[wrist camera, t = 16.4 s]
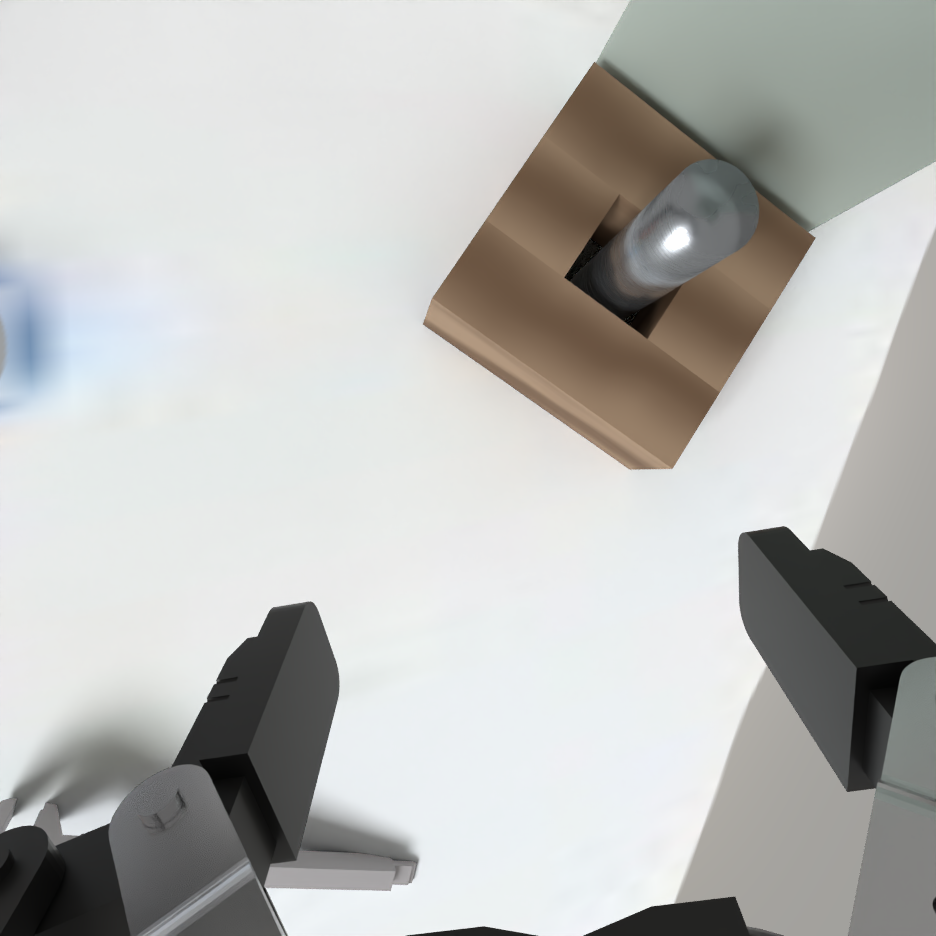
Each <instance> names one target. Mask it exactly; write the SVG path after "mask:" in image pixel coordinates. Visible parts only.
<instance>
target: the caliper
mask: <svg viewBox="0 0 936 936" xmlns="http://www.w3.org/2000/svg"><path fill="white" fill-rule="evenodd" d="M16 801H17V798H15V799H7V800H3V801H1V802H0V834H1V833H3V832H5V830H6V828H7V826H8V824H9V822H10V820H11V819H12V815H13V811H14V808H15V804H16ZM34 826H37V827H40V828H42V829H43V830H44V831H45V832H46V833H47V835H48V836H49V838H50V839H51V841H52V842H53V844H54V845H55V846H56V845H58V844H61V843H63V842H66V841H68V840H71V839H73V838H75V837H78V836H71V835H62V829H61V824H60V818H59V813H58V807H57V805H56V804H51V803H45V805H44V809H43V810H41V811H40V812H39V814H38V817H37V819H36V821H35V824H34ZM81 835H83V834H81ZM416 864H417V863H416V862H414V861H393V860H392V858H389V857H382V856H376V855H370V854H363V853H347V852H323V851H299V853H298V857H297V861H290V862H282V863H275V864H270V868H269V871H268V875H267V878H266V881H265V885H264V886H265V888H297V889H339V890H382V891H391V887H392V884H395V885H408V883H412V880H413V876H414V872H415V868H416Z"/></svg>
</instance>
